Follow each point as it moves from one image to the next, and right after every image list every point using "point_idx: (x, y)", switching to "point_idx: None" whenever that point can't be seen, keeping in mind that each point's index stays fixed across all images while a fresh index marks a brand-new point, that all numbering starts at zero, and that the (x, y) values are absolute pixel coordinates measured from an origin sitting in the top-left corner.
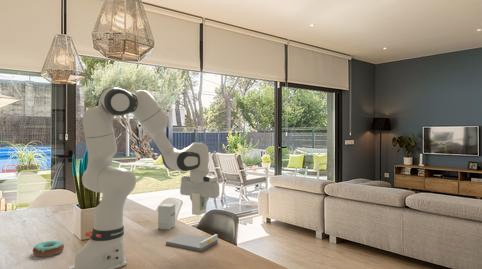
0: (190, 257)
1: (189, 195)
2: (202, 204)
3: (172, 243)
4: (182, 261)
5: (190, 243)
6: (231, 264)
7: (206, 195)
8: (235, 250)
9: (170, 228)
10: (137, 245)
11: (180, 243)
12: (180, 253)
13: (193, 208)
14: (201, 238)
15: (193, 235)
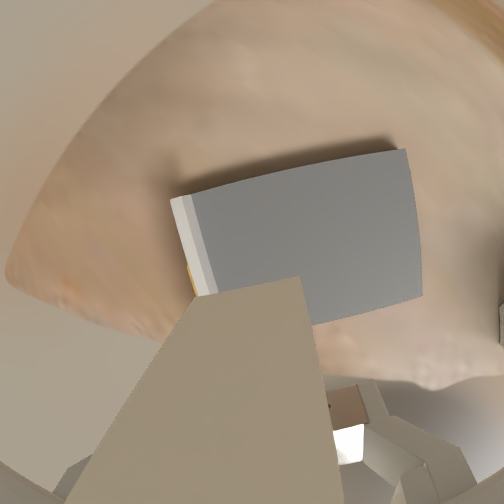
0: (171, 114)
1: (484, 481)
2: None
3: (365, 154)
4: (165, 68)
5: (283, 209)
6: (38, 193)
7: (4, 494)
8: (107, 304)
9: (500, 311)
10: (462, 81)
11: (326, 173)
12: (245, 111)
13: (277, 316)
14: None
15: (365, 310)
